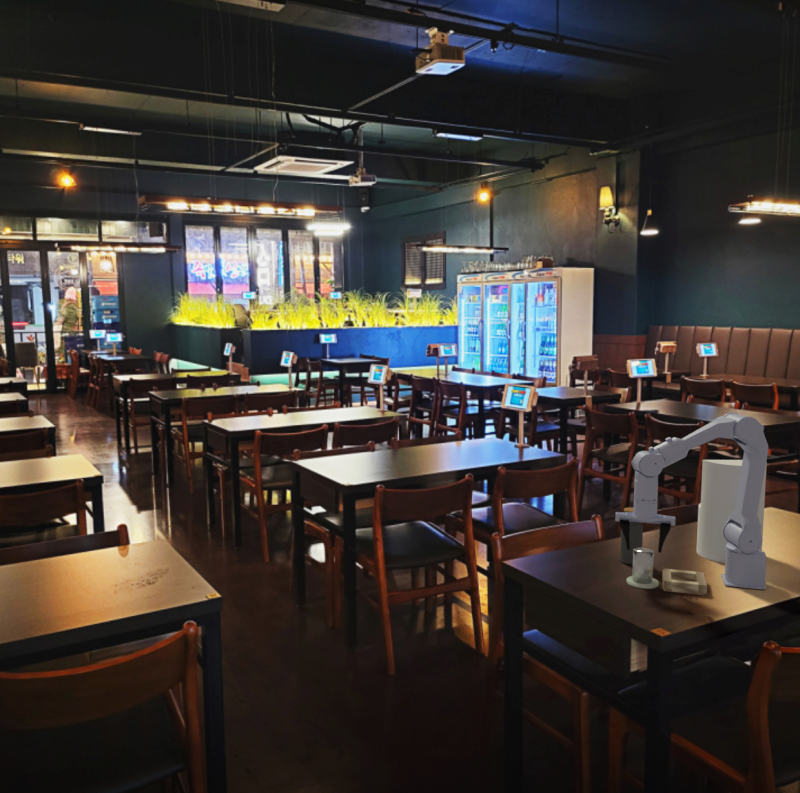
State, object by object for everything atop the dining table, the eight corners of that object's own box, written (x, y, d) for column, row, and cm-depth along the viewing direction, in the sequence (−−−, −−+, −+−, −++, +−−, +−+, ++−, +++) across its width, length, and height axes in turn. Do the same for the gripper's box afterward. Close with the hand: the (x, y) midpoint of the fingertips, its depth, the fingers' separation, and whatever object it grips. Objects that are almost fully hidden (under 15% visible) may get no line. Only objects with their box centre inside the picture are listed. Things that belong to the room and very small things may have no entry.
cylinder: (772, 564, 203) (778, 466, 200) (710, 564, 203) (715, 465, 200) (744, 545, 220) (749, 454, 217) (687, 545, 220) (691, 454, 217)
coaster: (658, 579, 191) (658, 577, 191) (659, 590, 183) (659, 588, 183) (626, 576, 193) (626, 574, 193) (626, 586, 186) (626, 584, 186)
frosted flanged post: (652, 578, 190) (653, 548, 189) (652, 585, 185) (653, 554, 185) (632, 576, 192) (633, 546, 191) (631, 582, 187) (633, 552, 186)
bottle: (642, 565, 202) (644, 512, 200) (620, 564, 203) (622, 511, 202) (640, 558, 208) (642, 507, 206) (619, 557, 209) (620, 506, 207)
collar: (702, 581, 189) (703, 572, 189) (706, 595, 180) (706, 585, 180) (662, 577, 193) (662, 568, 192) (663, 590, 183) (663, 581, 183)
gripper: (675, 496, 188) (673, 548, 189) (616, 492, 192) (615, 542, 193) (676, 503, 181) (674, 556, 182) (615, 499, 185) (614, 550, 187)
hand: (643, 550), depth 187 cm, fingers open, 7 cm apart
